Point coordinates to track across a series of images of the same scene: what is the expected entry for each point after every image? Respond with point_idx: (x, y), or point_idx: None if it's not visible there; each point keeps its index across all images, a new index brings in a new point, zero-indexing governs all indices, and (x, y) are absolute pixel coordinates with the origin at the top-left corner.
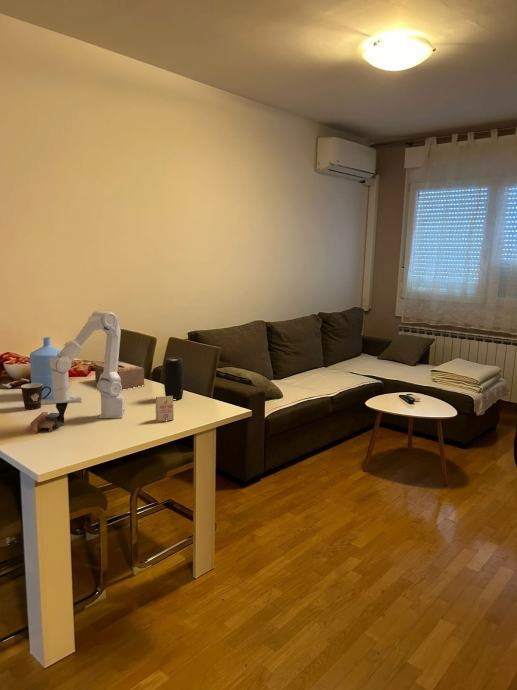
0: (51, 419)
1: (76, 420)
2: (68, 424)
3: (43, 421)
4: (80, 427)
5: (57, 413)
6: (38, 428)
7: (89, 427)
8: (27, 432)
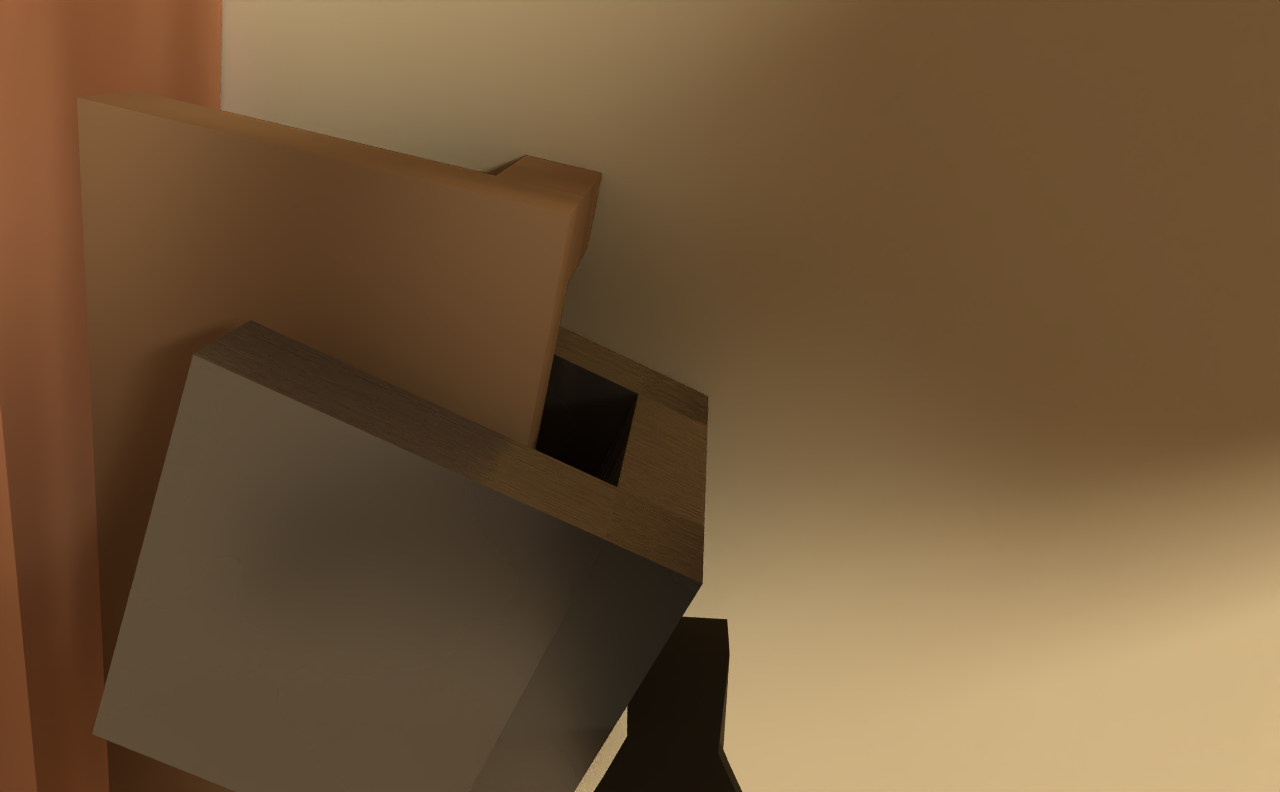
0: None
1: (1099, 97)
2: (823, 438)
3: None
4: (1074, 730)
5: (470, 548)
6: None
7: (1268, 783)
8: None
